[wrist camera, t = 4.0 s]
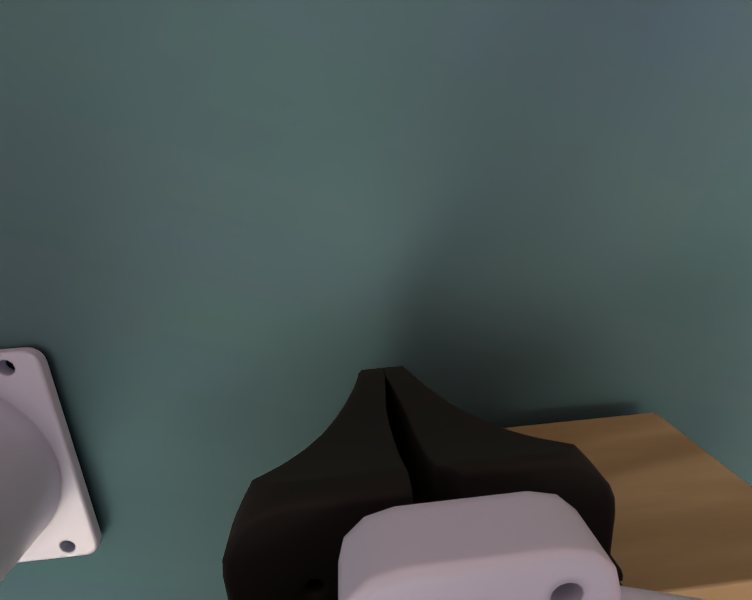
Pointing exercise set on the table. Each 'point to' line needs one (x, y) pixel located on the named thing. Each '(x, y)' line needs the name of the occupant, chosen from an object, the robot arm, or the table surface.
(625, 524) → the drawer
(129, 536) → the table surface
